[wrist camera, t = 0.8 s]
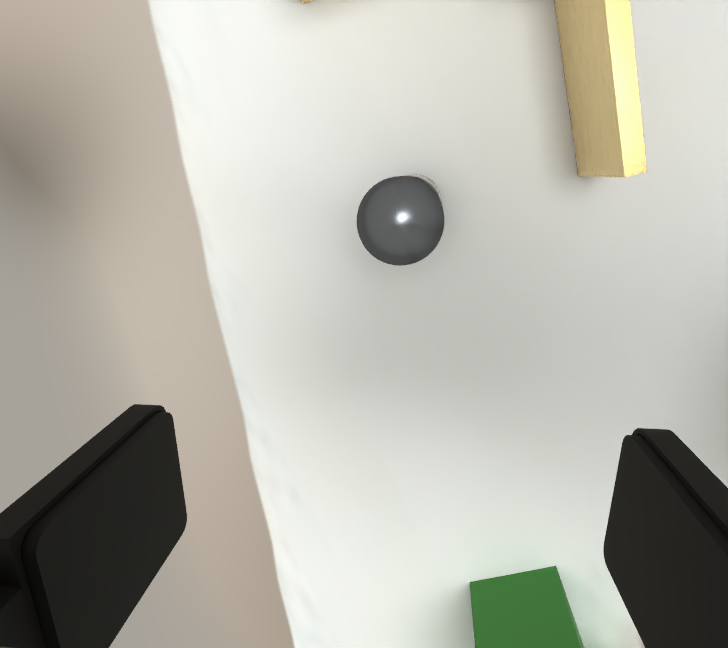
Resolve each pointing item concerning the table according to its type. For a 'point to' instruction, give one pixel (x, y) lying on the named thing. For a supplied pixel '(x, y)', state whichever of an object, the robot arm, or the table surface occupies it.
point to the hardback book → (523, 612)
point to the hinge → (601, 86)
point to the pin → (401, 219)
